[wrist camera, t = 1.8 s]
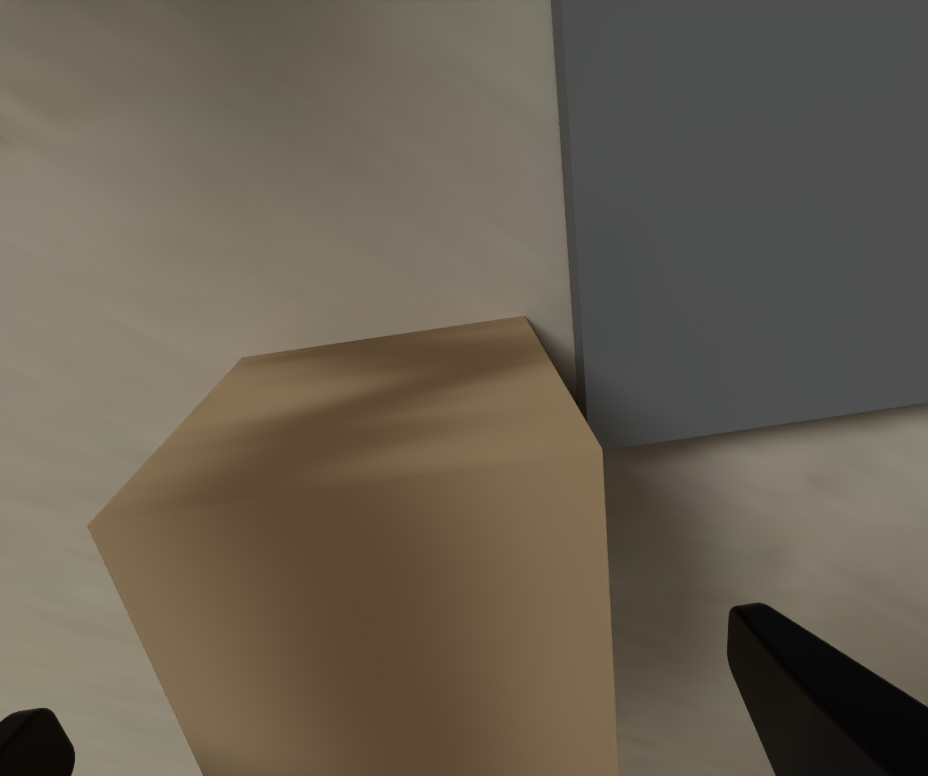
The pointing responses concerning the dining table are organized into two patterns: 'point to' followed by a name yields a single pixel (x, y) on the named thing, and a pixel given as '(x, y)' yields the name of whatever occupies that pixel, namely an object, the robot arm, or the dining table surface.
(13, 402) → the dining table surface
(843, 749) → the robot arm
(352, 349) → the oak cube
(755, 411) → the slate coaster
